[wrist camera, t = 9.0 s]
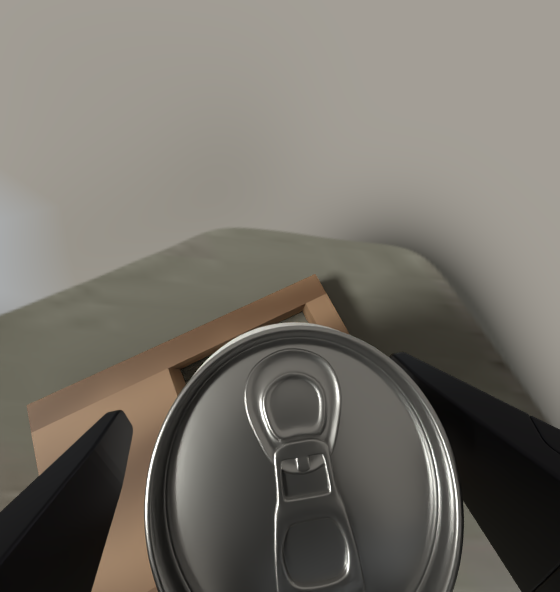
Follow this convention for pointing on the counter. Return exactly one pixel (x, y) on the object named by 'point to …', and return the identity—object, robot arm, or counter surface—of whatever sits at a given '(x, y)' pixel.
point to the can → (302, 473)
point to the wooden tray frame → (153, 414)
